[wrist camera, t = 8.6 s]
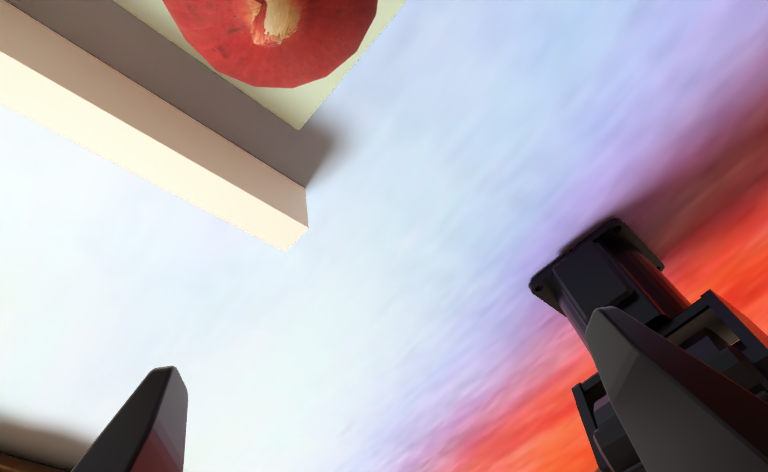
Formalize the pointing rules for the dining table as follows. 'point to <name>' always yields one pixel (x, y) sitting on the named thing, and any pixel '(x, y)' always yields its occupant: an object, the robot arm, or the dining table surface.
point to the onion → (274, 36)
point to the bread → (22, 465)
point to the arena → (163, 120)
